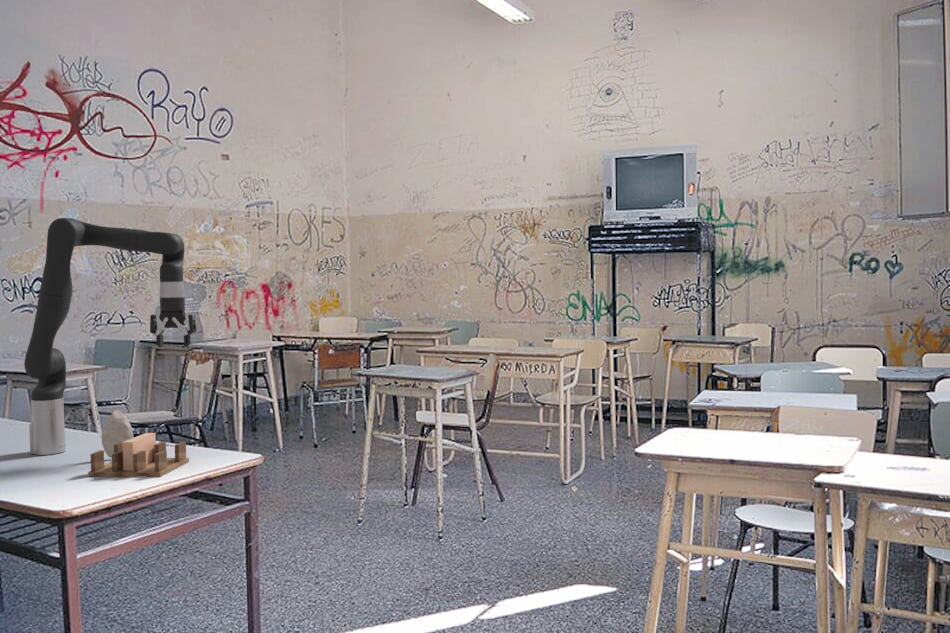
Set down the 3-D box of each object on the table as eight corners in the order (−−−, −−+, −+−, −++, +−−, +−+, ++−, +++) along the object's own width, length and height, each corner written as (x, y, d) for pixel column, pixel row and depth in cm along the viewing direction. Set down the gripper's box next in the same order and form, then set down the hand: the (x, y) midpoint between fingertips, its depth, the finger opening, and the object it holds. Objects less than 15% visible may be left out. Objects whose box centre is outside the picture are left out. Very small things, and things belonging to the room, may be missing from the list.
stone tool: (103, 461, 261) (101, 412, 261) (101, 459, 264) (99, 410, 263) (135, 457, 266) (133, 409, 266) (132, 455, 269) (131, 407, 268)
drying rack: (88, 476, 242) (87, 454, 241) (121, 461, 260) (121, 441, 260) (160, 476, 240) (159, 454, 239) (189, 461, 259) (188, 441, 258)
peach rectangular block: (123, 470, 243) (122, 442, 243) (146, 459, 257) (145, 432, 257) (133, 470, 243) (132, 442, 242) (156, 459, 257) (155, 432, 256)
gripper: (145, 296, 271) (146, 348, 272) (188, 296, 270) (190, 347, 271) (155, 296, 279) (157, 346, 280) (198, 295, 278) (200, 345, 278)
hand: (173, 346), depth 275 cm, fingers open, 8 cm apart
